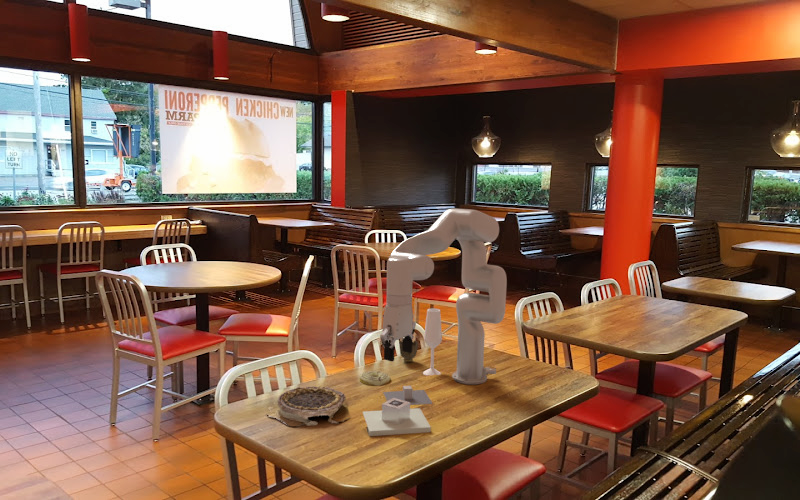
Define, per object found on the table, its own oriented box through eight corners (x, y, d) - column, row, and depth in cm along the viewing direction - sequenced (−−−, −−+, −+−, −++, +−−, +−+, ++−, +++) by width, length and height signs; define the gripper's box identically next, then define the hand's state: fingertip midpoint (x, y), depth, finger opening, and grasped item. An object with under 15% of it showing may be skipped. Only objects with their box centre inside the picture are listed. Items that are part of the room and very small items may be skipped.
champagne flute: (419, 371, 229) (421, 308, 226) (435, 369, 232) (437, 307, 229) (428, 377, 223) (429, 312, 220) (444, 374, 226) (446, 311, 223)
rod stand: (423, 394, 207) (424, 379, 206) (432, 408, 195) (433, 393, 194) (382, 396, 204) (383, 381, 203) (389, 410, 192) (389, 395, 191)
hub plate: (419, 412, 191) (420, 392, 190) (430, 432, 178) (431, 410, 177) (362, 416, 187) (362, 395, 187) (369, 436, 174) (369, 414, 173)
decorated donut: (381, 392, 208) (381, 381, 208) (354, 386, 213) (354, 376, 212) (395, 382, 217) (395, 372, 217) (368, 377, 222) (368, 367, 222)
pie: (250, 408, 193) (250, 393, 192) (320, 388, 212) (320, 374, 211) (302, 438, 173) (302, 421, 172) (374, 413, 192) (375, 398, 191)
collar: (393, 413, 186) (393, 397, 186) (409, 418, 183) (410, 402, 182) (381, 420, 181) (382, 403, 181) (398, 425, 178) (398, 408, 177)
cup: (395, 362, 238) (395, 342, 237) (404, 357, 245) (404, 338, 244) (412, 366, 235) (412, 345, 234) (420, 360, 242) (421, 341, 240)
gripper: (404, 292, 188) (403, 346, 190) (371, 303, 173) (370, 361, 176) (425, 296, 184) (424, 351, 186) (393, 307, 169) (392, 366, 172)
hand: (398, 356), depth 181 cm, fingers open, 9 cm apart
